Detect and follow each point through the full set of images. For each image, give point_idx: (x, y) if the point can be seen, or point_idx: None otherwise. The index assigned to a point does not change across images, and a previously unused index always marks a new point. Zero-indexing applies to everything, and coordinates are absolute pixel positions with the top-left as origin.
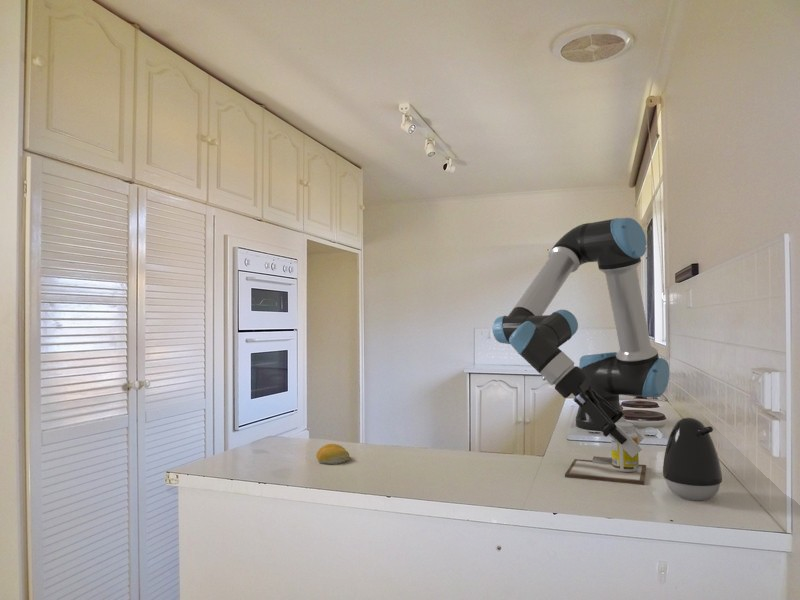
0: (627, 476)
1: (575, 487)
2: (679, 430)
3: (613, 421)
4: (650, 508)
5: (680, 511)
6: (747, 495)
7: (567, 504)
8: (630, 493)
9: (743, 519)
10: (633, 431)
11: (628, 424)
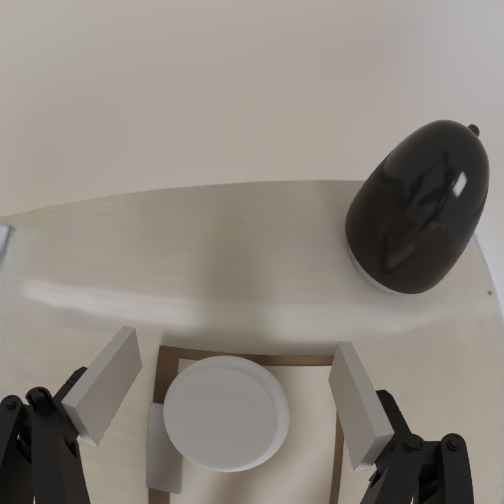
0: (313, 398)
1: None
2: (488, 184)
3: (75, 443)
4: (469, 325)
5: (459, 281)
6: (328, 181)
7: (490, 446)
8: (416, 374)
9: None
10: (117, 362)
11: (233, 394)
